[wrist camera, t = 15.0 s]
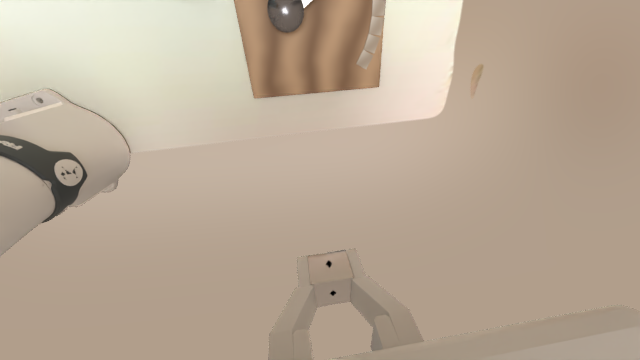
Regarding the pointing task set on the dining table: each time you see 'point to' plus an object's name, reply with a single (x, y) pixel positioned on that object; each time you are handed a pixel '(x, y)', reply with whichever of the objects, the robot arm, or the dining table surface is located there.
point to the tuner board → (313, 47)
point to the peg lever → (286, 13)
